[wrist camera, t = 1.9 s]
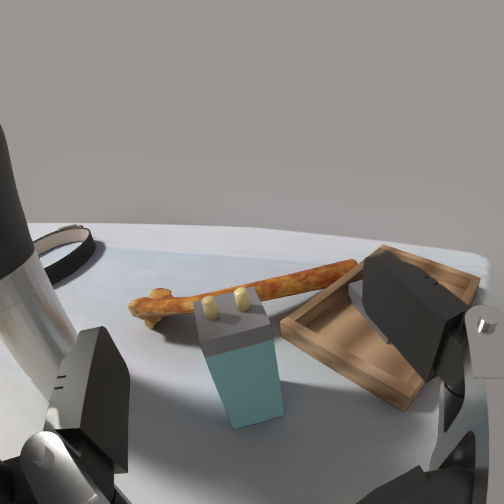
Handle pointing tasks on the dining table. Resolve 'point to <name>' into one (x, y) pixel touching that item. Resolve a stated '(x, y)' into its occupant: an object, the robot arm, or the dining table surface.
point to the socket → (356, 300)
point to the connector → (240, 355)
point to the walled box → (366, 332)
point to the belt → (71, 260)
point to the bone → (266, 290)
